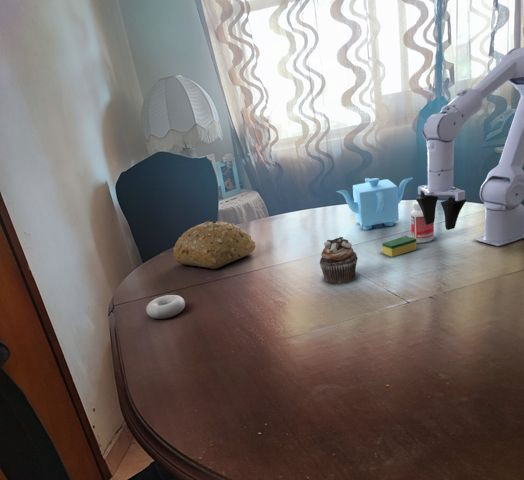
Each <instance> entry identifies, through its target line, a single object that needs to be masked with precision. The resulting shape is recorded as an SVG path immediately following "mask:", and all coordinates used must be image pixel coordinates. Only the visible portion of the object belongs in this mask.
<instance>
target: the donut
mask: <svg viewBox="0 0 524 480" xmlns="http://www.w3.org/2000/svg"><path fill="white" fill-rule="evenodd" d="M185 307H186V301H185V299H184V298H183V297H182V296H181V295H176V294H166V295H162V296H159V297H156V298H154V299H153V300H151V301H149V303H147V305H146V308H145V309H146V314H147V315H148V316H149V318H151V319H155V320H163V319H164V320H165V319H169V318H173V317H176V316H177V315H179V314H181V312H183V310H184V309H185Z"/></svg>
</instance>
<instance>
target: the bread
mask: <svg viewBox="0 0 524 480" xmlns="http://www.w3.org/2000/svg"><path fill="white" fill-rule="evenodd" d="M177 239H178V240H176V242H175V245H174V246H173V249H172V250H173V252H172V253H173V254H172V258H173V259H174V260H175V262H177V263H178V264H180V265H185V266H192V267H200V268H208V269H210V270H215V269H220V268H221V267H223V266H226V265H229V264H231V263H233V262H235V261H238V260H240V259H243V258H245V257H246V256H248V255H250V254H251V253H253V252H254V250H255V249H256V243H255V241H254V240H253V239H252V236H251V235H250V234H249V233H247V232H246V230H244V229H243V228H241V227H239V226H236V225H235V223H229V222H226V221H216V220H213V221H205V222H201V223H200V224H199V223H198V224H197V225H194V226H192V227H190V228H188V229H187V230H186V231H184V232H183V233H182V234H181V236H180V237H178V238H177Z"/></svg>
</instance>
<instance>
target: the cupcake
mask: <svg viewBox="0 0 524 480" xmlns="http://www.w3.org/2000/svg"><path fill="white" fill-rule="evenodd" d="M323 245H324V248H323V250H322V251H321V253H320V255H321V257H320V259H319V266H320V268H321V272H322V275H323V278H324V281H325V282H326V283H328V284H344V283H345V284H346V283H349V282H351V281H353V280H354V279H355V278H356V271H357V264H358V256H357V252H355V251H354V248H353V247H352V246H353V244H352V242H349V239H346V238H344V237H343V236H340V237H336V238H333V239H327V240H326V241H324V243H323Z"/></svg>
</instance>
